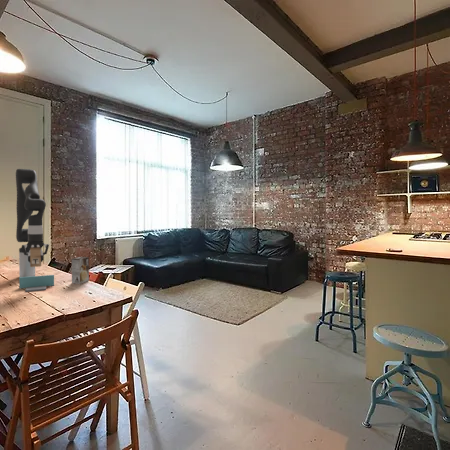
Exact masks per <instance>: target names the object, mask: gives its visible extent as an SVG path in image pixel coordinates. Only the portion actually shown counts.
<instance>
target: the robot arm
mask: <svg viewBox="0 0 450 450" xmlns="http://www.w3.org/2000/svg"><path fill="white" fill-rule="evenodd" d="M15 184H16V186H15V187H16V235H15V238H16V241H17V243H27V244H22V245H21V247H20V248H19V249H18V254H19V255H18V256H19V257H18V260H19V262H18V264H19V265H18V266H19V271H18V272H19V274H18V275H19V277H31V276H36V267H30V248H40V247H41V263H42V262H43V261H44V258H45V257H44V255H47V254H48V250H49V247H50V244H49V243H44V228H43V227H44V226H43V216H44V213H45V210H46V207H47V206H46V205H47V203H46V201H45V200H44V199H42V198H41V195H40V192H39V187H38V175H37V172H36V171H35V170H34V169H30V168H17V169H16V171H15ZM24 184H28V185H27V186H26V187H25V189H24V186H23V185H24ZM33 212H37V213H36V214H33ZM27 221H28V223H27V224H28V225H27V228H23V227H24V225H25V223H26V222H27ZM43 247H44V248H45V250H44V252H43Z"/></svg>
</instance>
